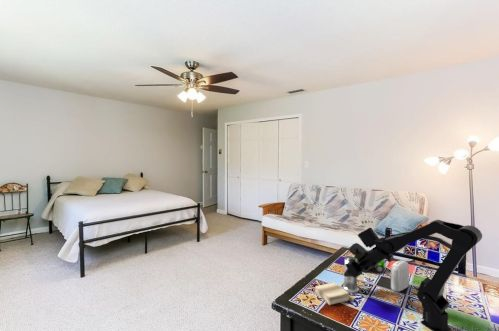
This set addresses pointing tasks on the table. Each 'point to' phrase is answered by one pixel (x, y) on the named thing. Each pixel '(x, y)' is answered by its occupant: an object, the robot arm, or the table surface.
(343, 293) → the stand
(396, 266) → the photo printer
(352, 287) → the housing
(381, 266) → the toy tractor
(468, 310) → the table surface
